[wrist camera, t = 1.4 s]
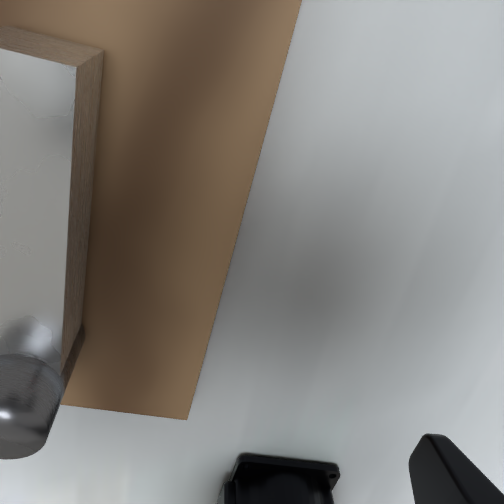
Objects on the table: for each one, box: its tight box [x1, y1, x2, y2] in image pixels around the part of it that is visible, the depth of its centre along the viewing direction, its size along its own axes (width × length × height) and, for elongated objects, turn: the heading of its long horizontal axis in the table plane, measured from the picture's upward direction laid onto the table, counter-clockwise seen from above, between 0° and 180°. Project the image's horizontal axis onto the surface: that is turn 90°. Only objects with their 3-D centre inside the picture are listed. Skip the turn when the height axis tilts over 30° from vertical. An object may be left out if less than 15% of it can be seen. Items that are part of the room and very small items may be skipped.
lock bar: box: [0, 25, 104, 459], centre depth 15 cm, size 14×3×5 cm, turn 166°
